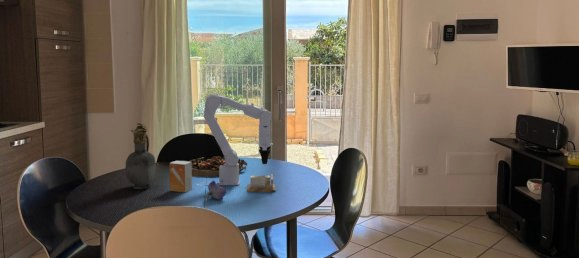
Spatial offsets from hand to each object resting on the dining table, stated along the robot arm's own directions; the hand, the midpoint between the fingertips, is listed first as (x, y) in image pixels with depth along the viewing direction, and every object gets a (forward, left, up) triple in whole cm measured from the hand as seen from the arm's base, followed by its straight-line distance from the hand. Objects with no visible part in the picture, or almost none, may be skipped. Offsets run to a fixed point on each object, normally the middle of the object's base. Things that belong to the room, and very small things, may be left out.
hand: (264, 162), depth 236 cm
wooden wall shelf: (-2, -12, -10) cm, 16 cm away
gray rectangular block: (-2, -12, -9) cm, 15 cm away
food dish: (-27, +28, -10) cm, 40 cm away
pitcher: (-57, -7, -10) cm, 58 cm away
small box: (-38, -14, -10) cm, 42 cm away
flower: (-21, -29, -10) cm, 37 cm away
